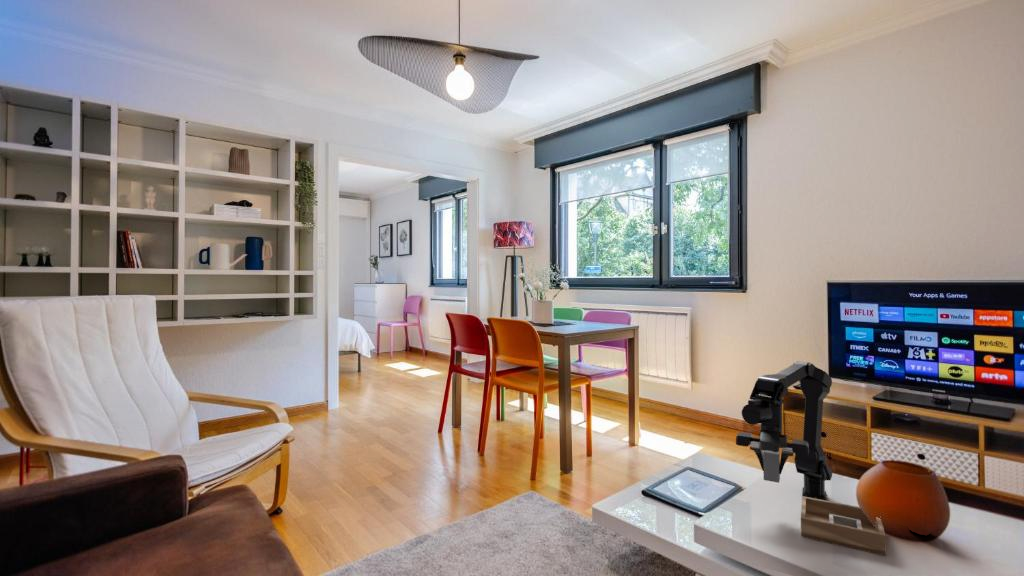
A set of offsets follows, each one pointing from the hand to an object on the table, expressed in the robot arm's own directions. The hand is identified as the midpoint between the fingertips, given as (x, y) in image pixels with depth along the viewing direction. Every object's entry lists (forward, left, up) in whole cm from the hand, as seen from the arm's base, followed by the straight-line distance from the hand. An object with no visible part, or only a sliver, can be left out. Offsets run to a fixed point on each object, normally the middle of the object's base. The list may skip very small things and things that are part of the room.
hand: (771, 472), depth 142 cm
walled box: (+4, +17, -12) cm, 21 cm away
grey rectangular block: (0, 0, -2) cm, 2 cm away
